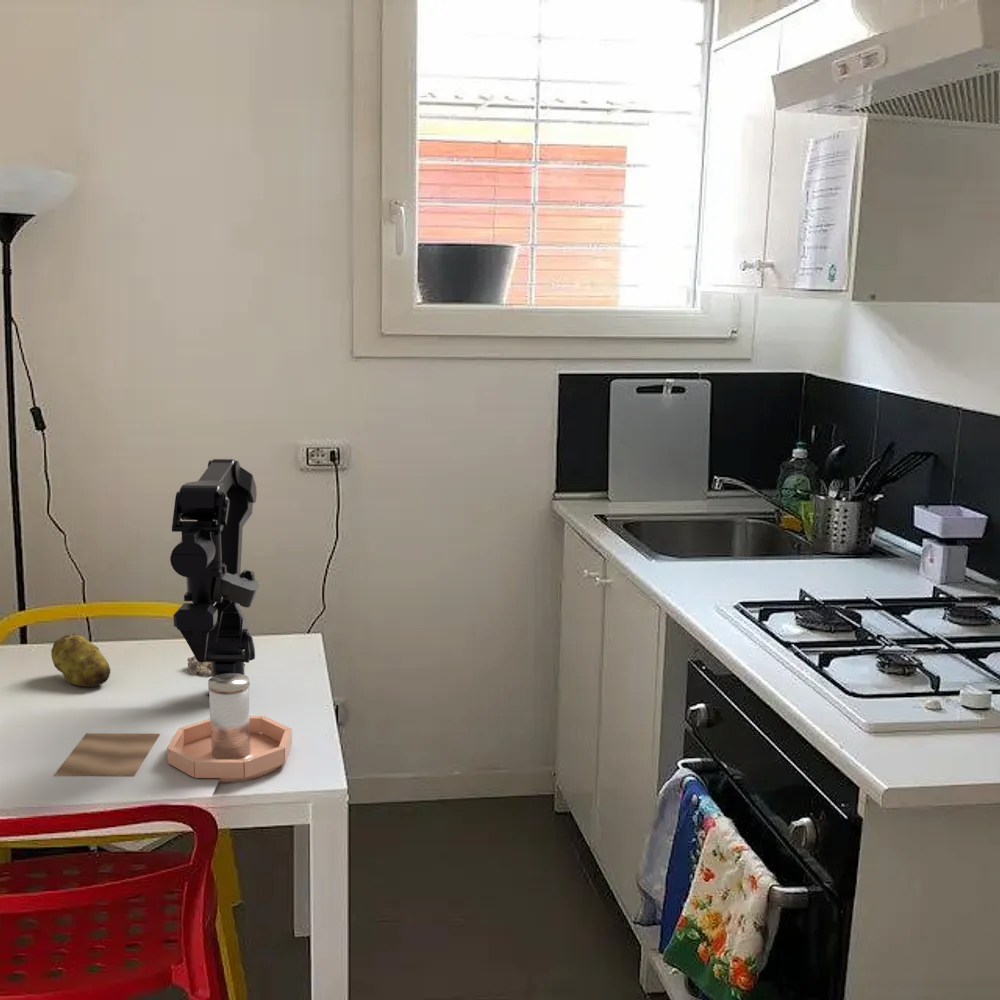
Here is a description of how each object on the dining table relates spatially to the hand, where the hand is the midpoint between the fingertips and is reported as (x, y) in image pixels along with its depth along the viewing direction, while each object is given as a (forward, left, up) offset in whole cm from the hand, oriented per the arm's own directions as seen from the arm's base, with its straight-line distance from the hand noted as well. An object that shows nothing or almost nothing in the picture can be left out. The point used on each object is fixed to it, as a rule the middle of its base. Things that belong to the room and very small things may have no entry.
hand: (207, 652), depth 201 cm
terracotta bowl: (+13, +6, -13) cm, 19 cm away
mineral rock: (-28, -5, -14) cm, 31 cm away
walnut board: (+13, -13, -13) cm, 23 cm away
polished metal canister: (+13, +6, -12) cm, 19 cm away
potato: (-21, -28, -13) cm, 37 cm away
